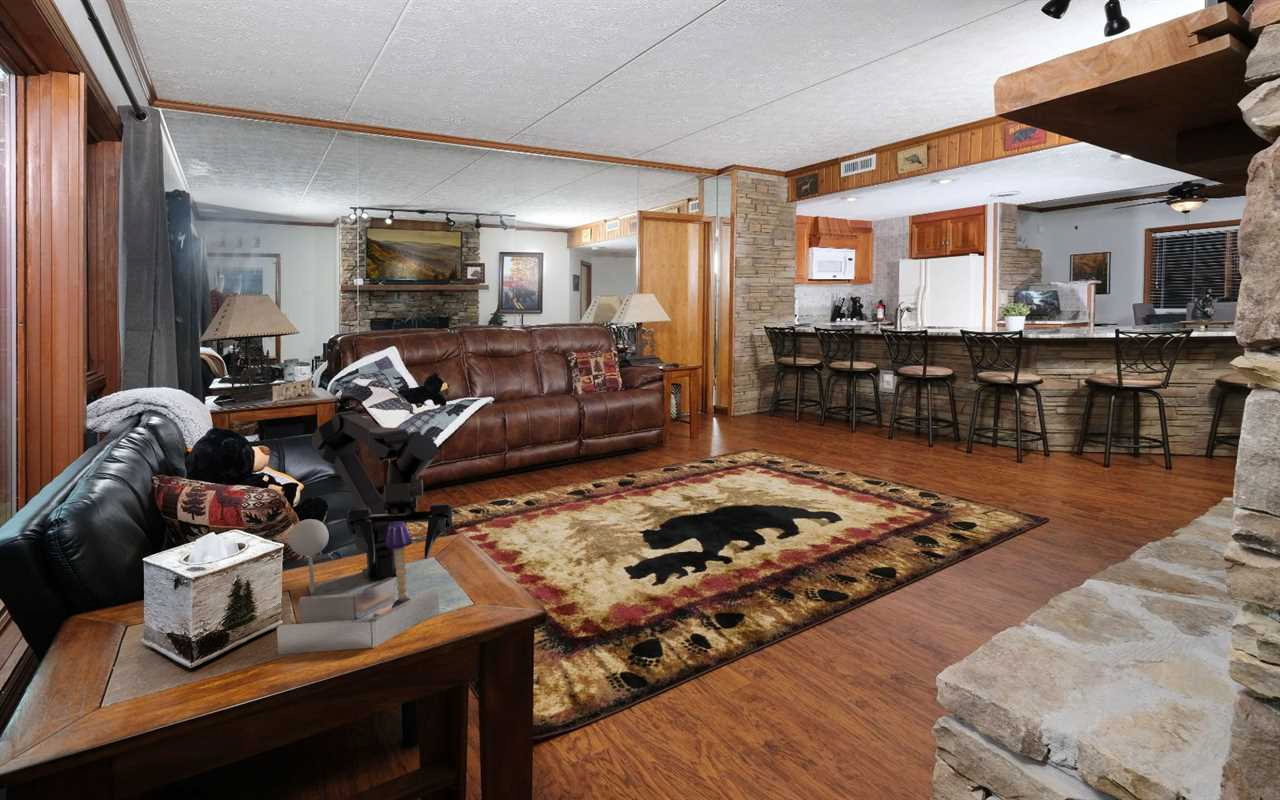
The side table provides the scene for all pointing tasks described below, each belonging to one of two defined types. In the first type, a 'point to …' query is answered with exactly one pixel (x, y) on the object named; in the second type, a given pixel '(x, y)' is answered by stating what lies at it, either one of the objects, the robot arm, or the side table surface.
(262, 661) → the side table surface
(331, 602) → the bent rails
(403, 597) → the toy lamp
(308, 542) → the lollipop
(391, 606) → the end pad
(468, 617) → the side table surface
